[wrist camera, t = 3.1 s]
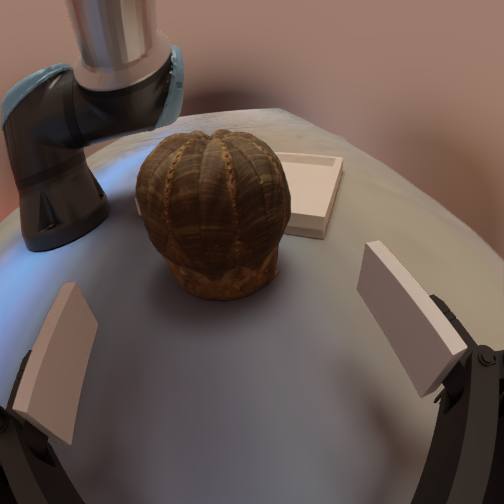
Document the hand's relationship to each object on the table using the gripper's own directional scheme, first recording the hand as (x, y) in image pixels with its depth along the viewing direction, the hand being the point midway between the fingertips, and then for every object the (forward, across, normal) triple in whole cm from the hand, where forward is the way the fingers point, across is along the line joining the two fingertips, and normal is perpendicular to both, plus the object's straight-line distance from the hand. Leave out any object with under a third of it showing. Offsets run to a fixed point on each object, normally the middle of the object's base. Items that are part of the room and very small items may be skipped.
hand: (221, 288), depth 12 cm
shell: (+10, 0, -7) cm, 12 cm away
